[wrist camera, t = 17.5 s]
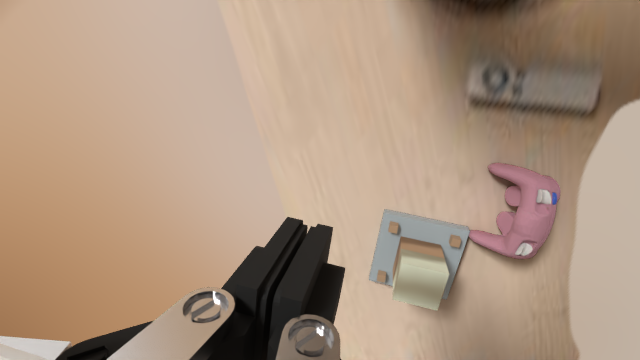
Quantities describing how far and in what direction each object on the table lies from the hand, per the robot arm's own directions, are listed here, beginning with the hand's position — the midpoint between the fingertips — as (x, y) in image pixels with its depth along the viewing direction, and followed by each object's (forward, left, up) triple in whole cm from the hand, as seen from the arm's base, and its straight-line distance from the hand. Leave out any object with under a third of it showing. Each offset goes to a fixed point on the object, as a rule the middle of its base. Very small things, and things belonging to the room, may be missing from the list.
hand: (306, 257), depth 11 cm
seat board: (+14, +9, -27) cm, 32 cm away
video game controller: (+5, +17, -27) cm, 33 cm away
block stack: (+14, +9, -26) cm, 31 cm away
